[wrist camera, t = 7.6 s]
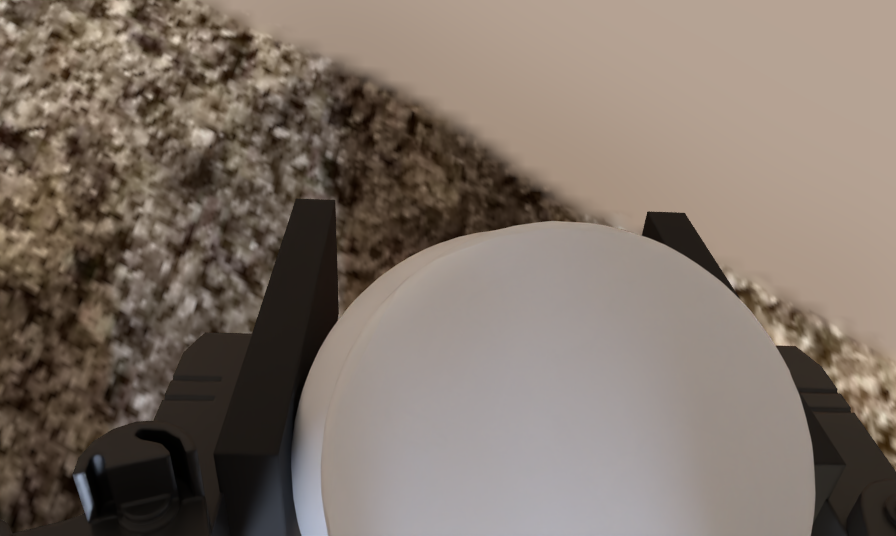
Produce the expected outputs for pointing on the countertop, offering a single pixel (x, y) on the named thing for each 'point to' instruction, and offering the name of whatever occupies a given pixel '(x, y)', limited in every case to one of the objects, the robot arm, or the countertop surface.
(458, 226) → the countertop surface
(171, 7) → the countertop surface
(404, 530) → the pill bottle
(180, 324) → the countertop surface
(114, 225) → the countertop surface
